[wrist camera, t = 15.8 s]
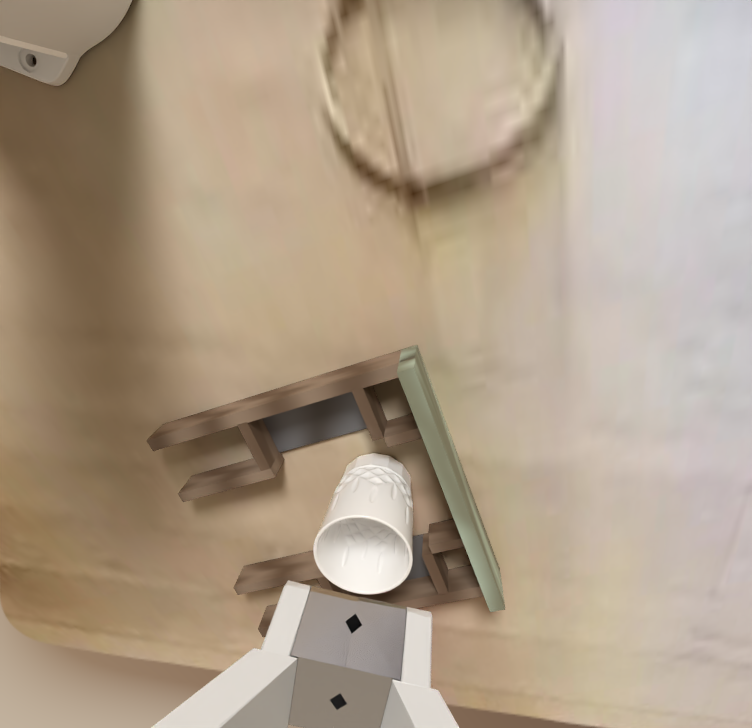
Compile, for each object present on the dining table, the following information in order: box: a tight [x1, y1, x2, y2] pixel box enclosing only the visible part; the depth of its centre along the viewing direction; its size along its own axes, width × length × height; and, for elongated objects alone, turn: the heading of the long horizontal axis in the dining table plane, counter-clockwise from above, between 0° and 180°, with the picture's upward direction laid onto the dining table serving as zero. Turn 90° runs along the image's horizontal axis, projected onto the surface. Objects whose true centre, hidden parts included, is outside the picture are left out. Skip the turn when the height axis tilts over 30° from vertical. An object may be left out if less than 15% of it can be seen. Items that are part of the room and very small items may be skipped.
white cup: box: [313, 453, 413, 595], centre depth 46 cm, size 8×8×10 cm
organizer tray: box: [147, 345, 505, 637], centre depth 49 cm, size 26×25×5 cm
